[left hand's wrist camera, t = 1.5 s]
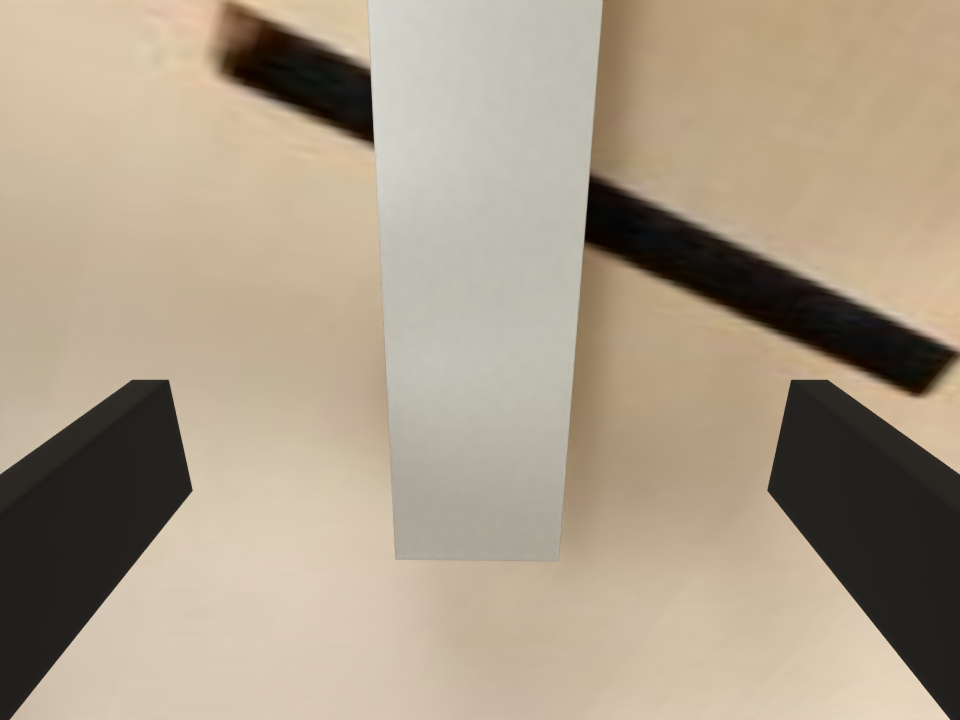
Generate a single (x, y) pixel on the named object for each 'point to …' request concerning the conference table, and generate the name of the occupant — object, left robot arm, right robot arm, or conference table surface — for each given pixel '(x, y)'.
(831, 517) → the left robot arm
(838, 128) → the conference table surface
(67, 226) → the conference table surface
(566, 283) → the bar
